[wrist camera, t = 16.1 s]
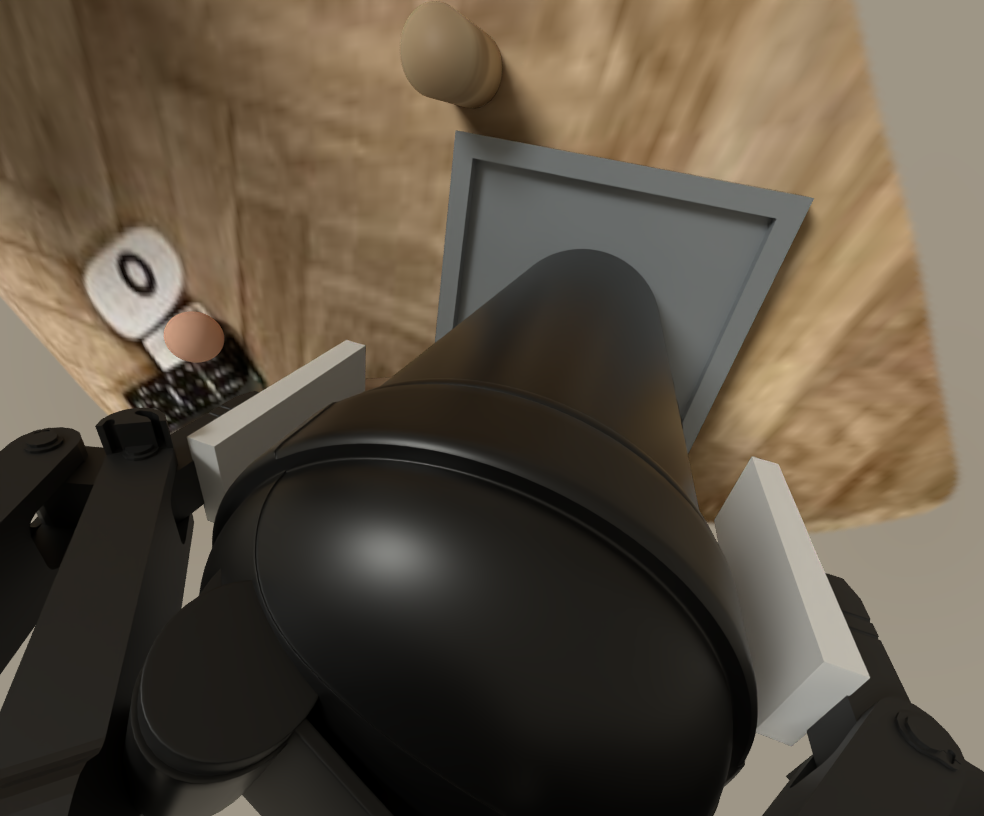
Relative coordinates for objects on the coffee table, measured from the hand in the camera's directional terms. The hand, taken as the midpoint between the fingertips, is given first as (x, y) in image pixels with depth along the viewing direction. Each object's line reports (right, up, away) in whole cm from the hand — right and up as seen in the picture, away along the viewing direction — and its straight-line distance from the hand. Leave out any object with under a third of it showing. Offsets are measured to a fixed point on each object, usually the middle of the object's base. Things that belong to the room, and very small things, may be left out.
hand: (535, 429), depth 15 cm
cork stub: (-2, +17, +6) cm, 18 cm away
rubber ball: (-22, +7, +18) cm, 30 cm away
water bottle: (+3, +5, +10) cm, 12 cm away
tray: (+3, +6, +10) cm, 12 cm away
